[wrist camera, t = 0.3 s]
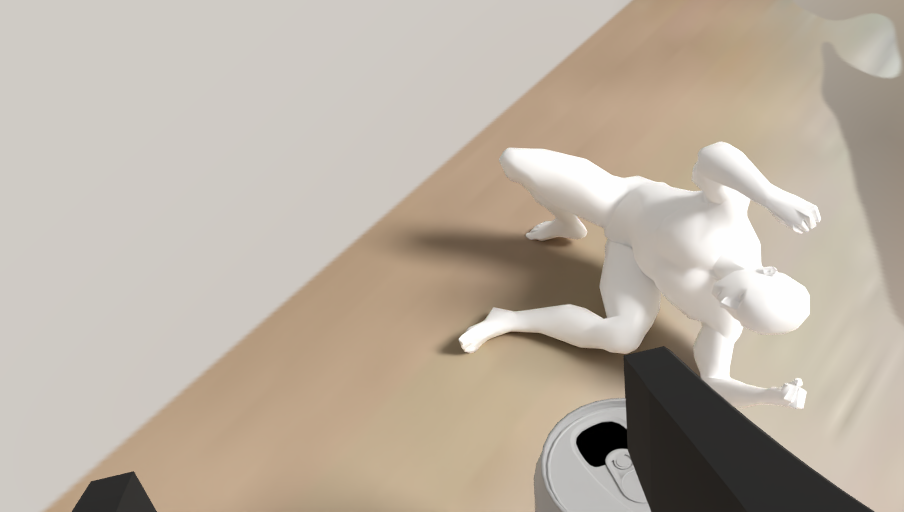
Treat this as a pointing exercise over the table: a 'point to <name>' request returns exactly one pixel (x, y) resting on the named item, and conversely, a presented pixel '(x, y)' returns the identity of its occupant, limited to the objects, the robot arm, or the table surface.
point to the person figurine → (666, 260)
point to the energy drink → (589, 463)
